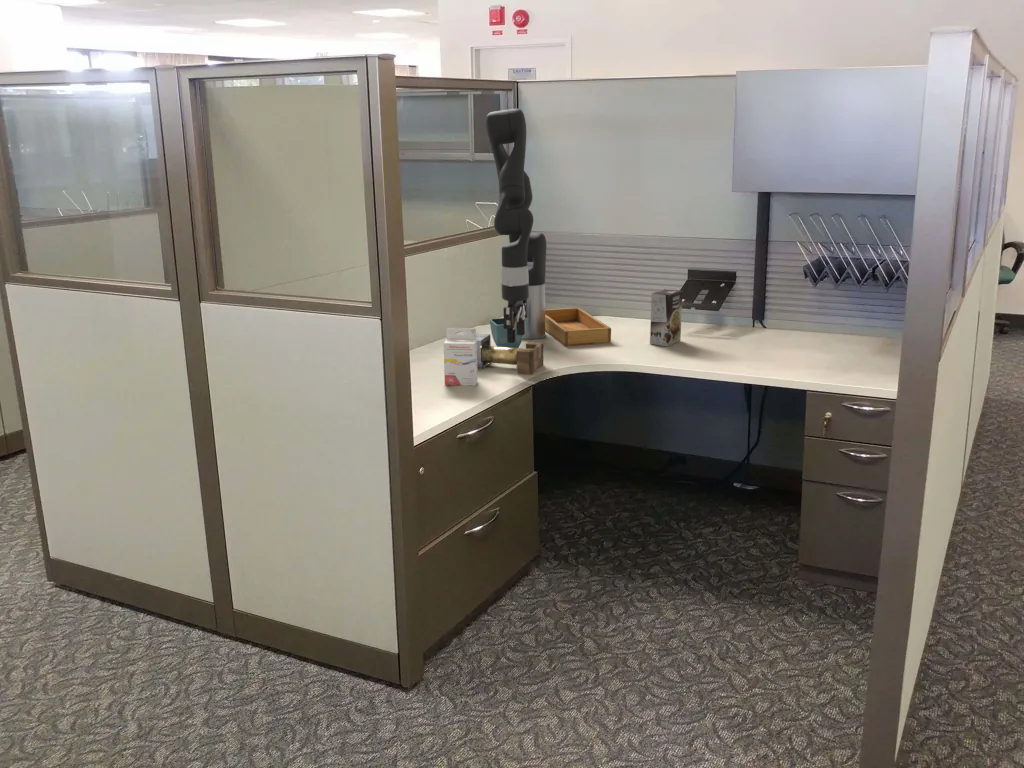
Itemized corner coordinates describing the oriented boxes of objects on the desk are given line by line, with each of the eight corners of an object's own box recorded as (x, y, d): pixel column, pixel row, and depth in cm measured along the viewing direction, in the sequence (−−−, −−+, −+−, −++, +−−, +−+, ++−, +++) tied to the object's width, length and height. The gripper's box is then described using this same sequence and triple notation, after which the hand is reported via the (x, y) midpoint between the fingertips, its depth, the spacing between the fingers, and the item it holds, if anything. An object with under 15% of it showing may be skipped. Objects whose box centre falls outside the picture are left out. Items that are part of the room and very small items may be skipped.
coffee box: (667, 347, 280) (669, 295, 275) (649, 344, 284) (650, 292, 279) (681, 341, 287) (683, 290, 282) (663, 338, 291) (664, 288, 286)
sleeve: (465, 360, 268) (464, 332, 265) (490, 362, 265) (490, 334, 263) (455, 367, 261) (454, 338, 258) (481, 369, 258) (480, 340, 256)
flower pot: (496, 353, 275) (496, 324, 272) (489, 347, 283) (489, 318, 280) (524, 351, 277) (524, 322, 275) (517, 344, 285) (516, 316, 283)
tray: (611, 344, 286) (611, 326, 285) (564, 347, 282) (565, 329, 281) (579, 323, 315) (579, 307, 313) (536, 326, 311) (536, 310, 309)
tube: (476, 364, 260) (476, 347, 258) (483, 360, 264) (482, 342, 263) (530, 368, 255) (530, 350, 253) (535, 364, 259) (535, 346, 258)
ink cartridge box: (444, 385, 243) (442, 331, 239) (446, 380, 248) (444, 327, 244) (476, 385, 243) (474, 332, 239) (478, 380, 248) (476, 327, 243)
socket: (528, 364, 263) (528, 342, 261) (543, 365, 262) (543, 343, 260) (516, 373, 254) (516, 350, 252) (532, 374, 252) (532, 352, 250)
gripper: (510, 276, 260) (511, 331, 264) (493, 286, 247) (495, 344, 252) (535, 277, 257) (536, 333, 262) (520, 287, 244) (521, 346, 249)
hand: (516, 338), depth 257 cm, fingers open, 8 cm apart
